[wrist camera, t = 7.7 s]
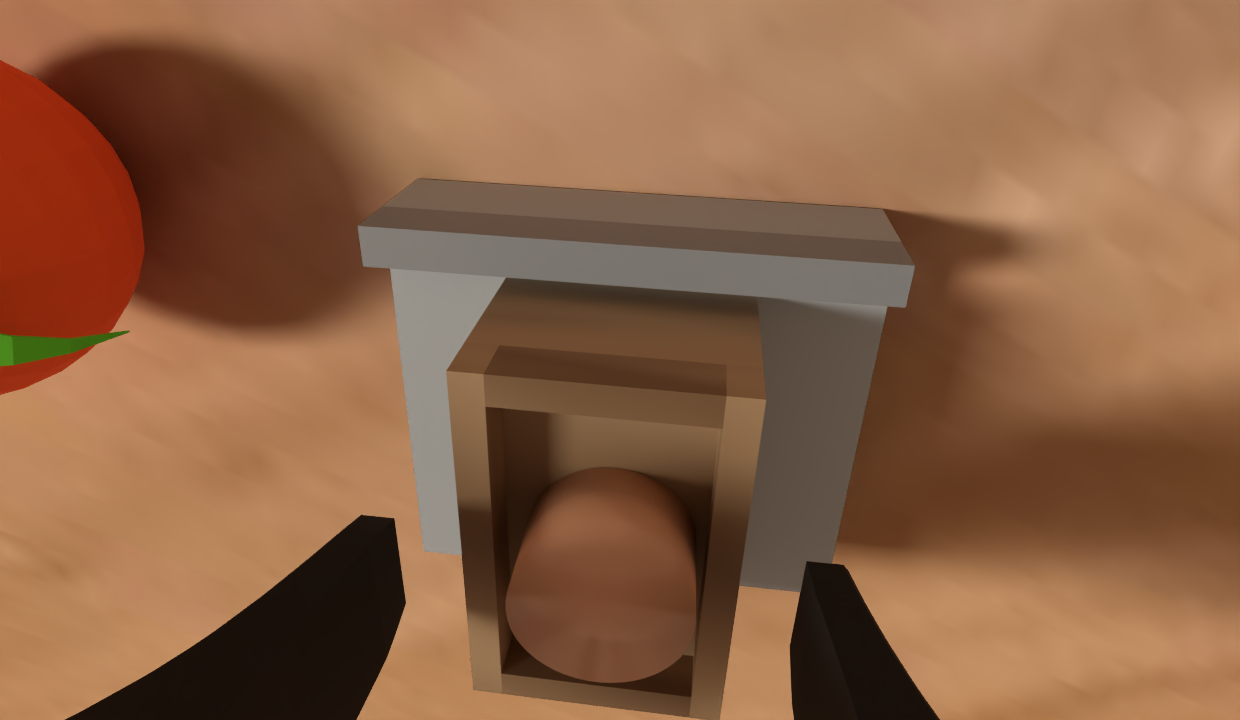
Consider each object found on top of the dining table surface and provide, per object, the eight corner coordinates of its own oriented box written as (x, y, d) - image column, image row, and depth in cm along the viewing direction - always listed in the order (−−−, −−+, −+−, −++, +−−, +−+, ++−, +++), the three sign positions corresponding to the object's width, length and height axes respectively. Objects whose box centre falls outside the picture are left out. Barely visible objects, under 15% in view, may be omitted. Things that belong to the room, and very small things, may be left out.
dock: (816, 538, 21) (830, 633, 18) (448, 501, 21) (407, 585, 19) (882, 208, 16) (915, 265, 13) (417, 178, 17) (357, 226, 14)
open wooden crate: (720, 576, 19) (719, 721, 15) (518, 554, 19) (473, 690, 16) (756, 293, 15) (766, 399, 12) (508, 274, 16) (445, 370, 12)
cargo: (680, 610, 15) (678, 696, 14) (522, 583, 16) (499, 665, 14) (711, 484, 14) (713, 562, 12) (535, 454, 14) (511, 527, 12)
